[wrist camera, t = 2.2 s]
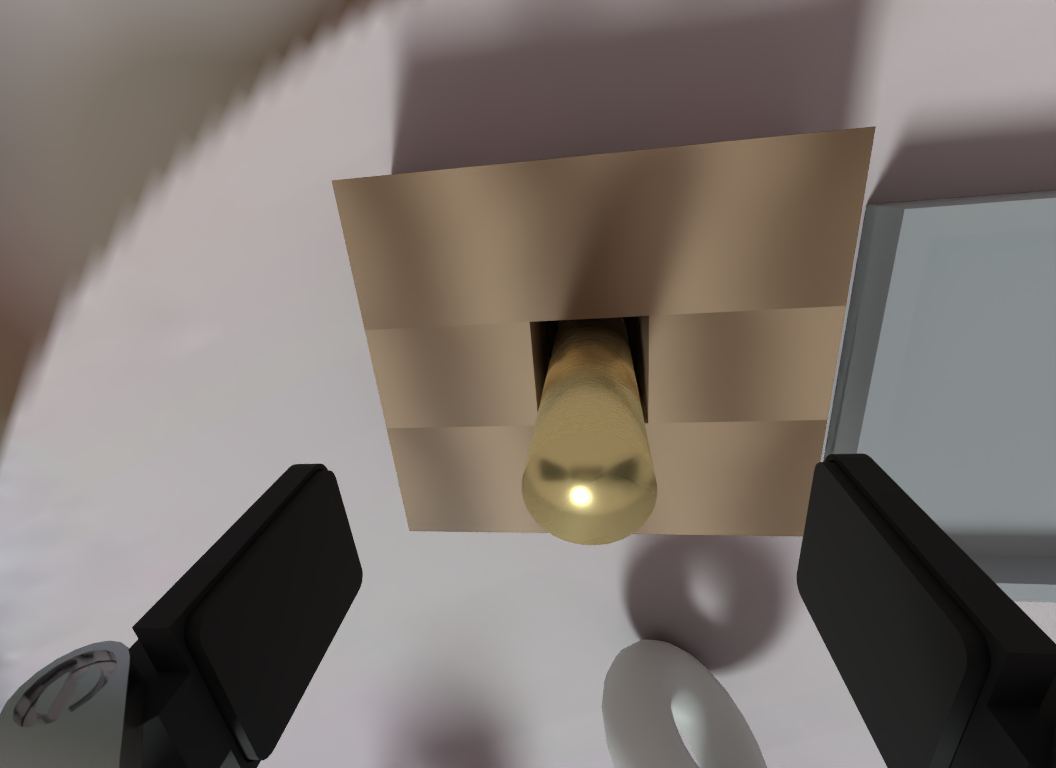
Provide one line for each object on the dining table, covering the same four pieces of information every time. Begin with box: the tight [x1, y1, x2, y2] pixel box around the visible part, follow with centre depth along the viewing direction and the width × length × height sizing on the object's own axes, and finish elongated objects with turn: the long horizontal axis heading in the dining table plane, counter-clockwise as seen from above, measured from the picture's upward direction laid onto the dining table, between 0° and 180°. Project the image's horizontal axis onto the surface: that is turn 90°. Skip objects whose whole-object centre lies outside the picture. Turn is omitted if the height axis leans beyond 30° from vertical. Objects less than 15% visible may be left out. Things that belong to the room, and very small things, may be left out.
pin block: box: [332, 127, 875, 536], centre depth 20 cm, size 16×14×5 cm
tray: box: [824, 190, 1056, 602], centre depth 20 cm, size 15×17×2 cm
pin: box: [522, 317, 657, 545], centre depth 16 cm, size 3×3×12 cm
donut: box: [602, 640, 767, 768], centre depth 24 cm, size 10×3×10 cm, turn 52°
